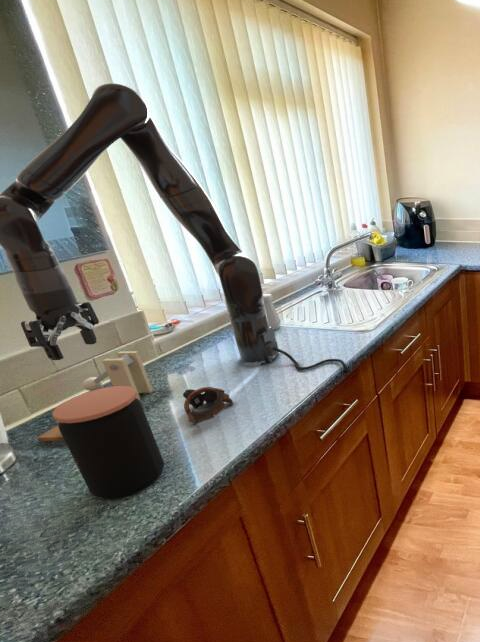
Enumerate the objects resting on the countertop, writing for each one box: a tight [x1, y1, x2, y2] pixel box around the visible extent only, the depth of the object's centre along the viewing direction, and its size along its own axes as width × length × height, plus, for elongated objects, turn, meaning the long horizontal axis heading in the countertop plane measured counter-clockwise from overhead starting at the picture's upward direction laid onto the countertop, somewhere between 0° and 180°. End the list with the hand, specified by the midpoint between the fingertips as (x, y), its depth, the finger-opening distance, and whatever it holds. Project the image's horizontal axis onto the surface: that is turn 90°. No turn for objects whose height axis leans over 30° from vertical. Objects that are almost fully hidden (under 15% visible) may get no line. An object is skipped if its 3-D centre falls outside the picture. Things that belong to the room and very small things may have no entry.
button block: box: [36, 422, 65, 442], centre depth 90 cm, size 11×9×4 cm
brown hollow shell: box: [182, 386, 234, 426], centre depth 97 cm, size 12×10×8 cm
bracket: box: [101, 350, 154, 401], centre depth 101 cm, size 10×8×13 cm
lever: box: [82, 354, 134, 392], centre depth 100 cm, size 14×3×3 cm
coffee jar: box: [51, 386, 165, 500], centre depth 74 cm, size 11×11×18 cm
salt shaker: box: [263, 293, 282, 331], centre depth 145 cm, size 6×6×13 cm
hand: (75, 351), depth 97 cm, fingers open, 8 cm apart
